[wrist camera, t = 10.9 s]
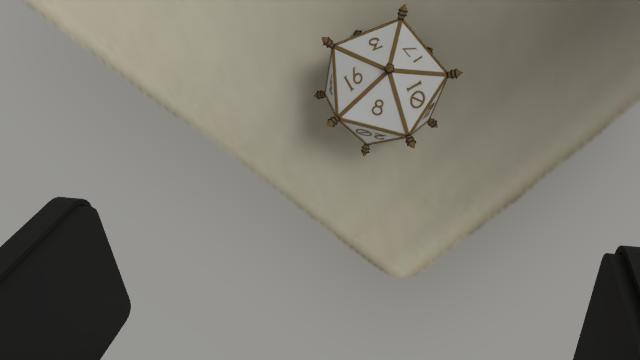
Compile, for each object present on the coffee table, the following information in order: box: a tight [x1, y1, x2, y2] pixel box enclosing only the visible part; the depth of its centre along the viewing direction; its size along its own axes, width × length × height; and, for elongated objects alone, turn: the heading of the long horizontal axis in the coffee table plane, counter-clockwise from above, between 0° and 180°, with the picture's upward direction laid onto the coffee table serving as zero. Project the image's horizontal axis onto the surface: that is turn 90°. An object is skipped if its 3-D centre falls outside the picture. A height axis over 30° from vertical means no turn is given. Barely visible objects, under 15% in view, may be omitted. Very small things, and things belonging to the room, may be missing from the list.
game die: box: [314, 4, 463, 156], centre depth 34 cm, size 9×8×10 cm
